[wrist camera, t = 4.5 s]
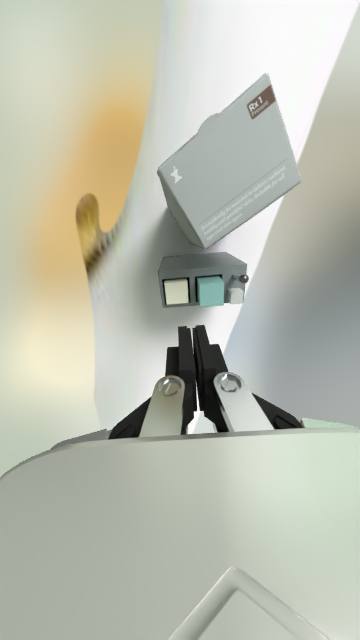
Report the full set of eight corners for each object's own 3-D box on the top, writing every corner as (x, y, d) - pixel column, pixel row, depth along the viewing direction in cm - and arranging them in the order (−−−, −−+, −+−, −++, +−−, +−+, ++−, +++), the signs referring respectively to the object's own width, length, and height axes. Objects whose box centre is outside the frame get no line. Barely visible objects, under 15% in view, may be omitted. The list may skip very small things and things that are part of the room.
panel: (163, 257, 30) (158, 271, 21) (225, 252, 29) (247, 264, 20) (166, 284, 32) (162, 307, 23) (224, 279, 31) (243, 301, 23)
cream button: (165, 276, 23) (164, 283, 21) (186, 274, 23) (187, 281, 21) (167, 295, 25) (166, 304, 22) (187, 293, 25) (188, 302, 22)
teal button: (196, 276, 22) (199, 284, 19) (218, 274, 22) (224, 282, 19) (197, 297, 23) (200, 307, 20) (217, 295, 23) (223, 305, 20)
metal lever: (230, 273, 21) (240, 274, 18) (238, 272, 21) (250, 274, 18) (230, 280, 21) (240, 284, 18) (238, 280, 21) (249, 283, 18)
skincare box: (190, 244, 29) (204, 263, 15) (163, 199, 26) (148, 170, 12) (239, 208, 27) (310, 191, 13) (215, 155, 24) (272, 56, 10)
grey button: (228, 288, 22) (231, 292, 20) (239, 287, 22) (243, 291, 20) (227, 299, 22) (230, 304, 21) (238, 298, 22) (242, 303, 21)
